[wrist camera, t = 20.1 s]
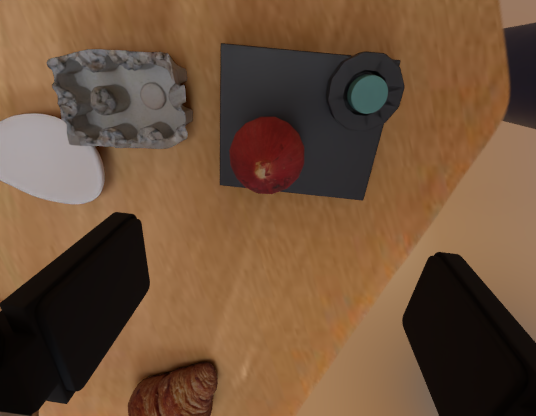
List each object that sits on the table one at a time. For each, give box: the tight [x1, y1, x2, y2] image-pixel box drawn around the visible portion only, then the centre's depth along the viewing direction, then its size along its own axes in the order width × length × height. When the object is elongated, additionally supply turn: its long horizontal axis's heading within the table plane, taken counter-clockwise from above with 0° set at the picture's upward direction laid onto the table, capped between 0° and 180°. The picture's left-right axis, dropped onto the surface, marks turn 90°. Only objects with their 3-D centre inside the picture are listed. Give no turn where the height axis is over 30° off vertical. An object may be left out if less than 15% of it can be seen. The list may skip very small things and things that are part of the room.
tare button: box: [347, 75, 388, 114], centre depth 21 cm, size 3×3×2 cm
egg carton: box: [47, 49, 193, 149], centre depth 24 cm, size 11×8×4 cm
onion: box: [229, 117, 304, 194], centre depth 21 cm, size 6×6×8 cm
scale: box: [220, 43, 404, 200], centre depth 24 cm, size 14×12×3 cm
